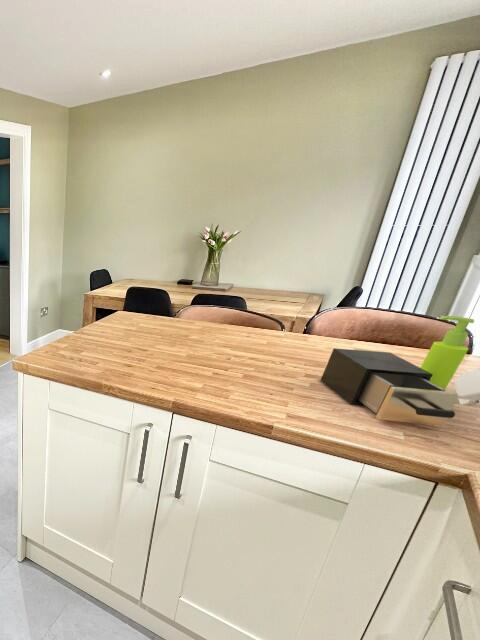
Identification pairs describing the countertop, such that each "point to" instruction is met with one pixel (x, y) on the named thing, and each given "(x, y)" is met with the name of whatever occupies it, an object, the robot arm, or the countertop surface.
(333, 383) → the black drawer box
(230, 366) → the countertop surface
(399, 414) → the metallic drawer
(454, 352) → the soap dispenser
